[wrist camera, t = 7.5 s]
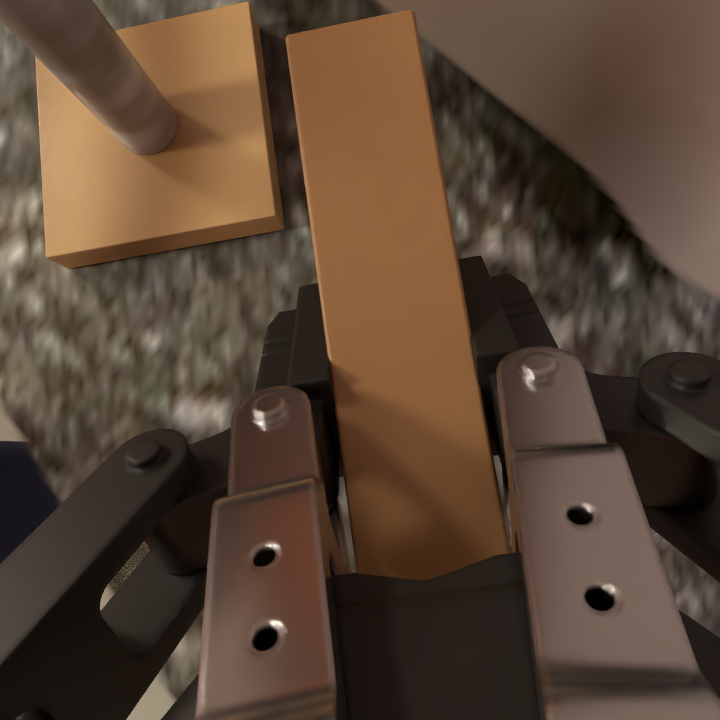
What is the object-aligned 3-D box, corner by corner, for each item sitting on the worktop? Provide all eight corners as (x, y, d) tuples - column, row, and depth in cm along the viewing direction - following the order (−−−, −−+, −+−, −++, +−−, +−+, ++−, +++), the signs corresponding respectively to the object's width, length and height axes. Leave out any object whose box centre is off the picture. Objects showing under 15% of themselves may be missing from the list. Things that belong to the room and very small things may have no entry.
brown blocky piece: (396, 636, 22) (346, 923, 9) (341, 254, 25) (238, 9, 11) (504, 623, 22) (631, 901, 8) (438, 238, 24) (451, -37, 11)
